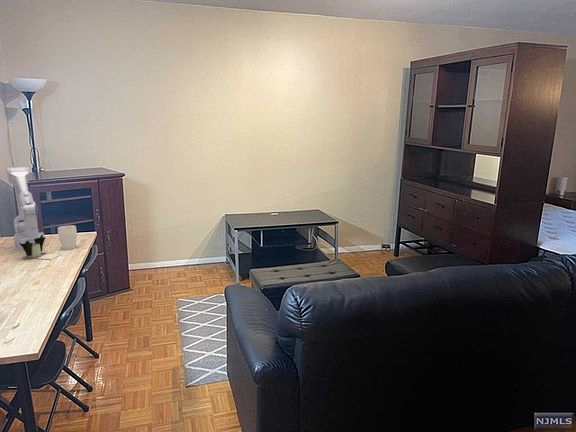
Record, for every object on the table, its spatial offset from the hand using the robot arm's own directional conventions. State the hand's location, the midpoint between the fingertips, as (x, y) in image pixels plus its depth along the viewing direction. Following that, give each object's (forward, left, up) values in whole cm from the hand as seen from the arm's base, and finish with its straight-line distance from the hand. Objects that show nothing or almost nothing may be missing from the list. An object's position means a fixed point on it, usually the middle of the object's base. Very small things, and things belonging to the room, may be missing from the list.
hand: (34, 253), depth 216 cm
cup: (+8, +16, -2) cm, 18 cm away
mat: (+4, 0, -2) cm, 4 cm away
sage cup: (0, 0, -1) cm, 1 cm away
